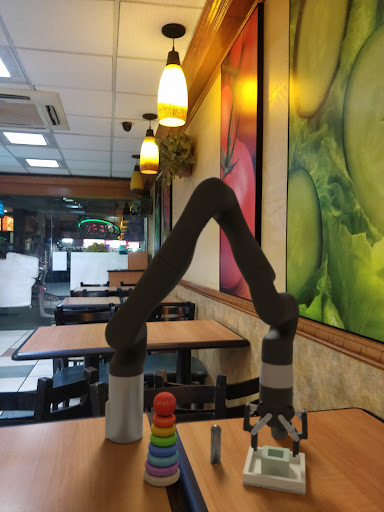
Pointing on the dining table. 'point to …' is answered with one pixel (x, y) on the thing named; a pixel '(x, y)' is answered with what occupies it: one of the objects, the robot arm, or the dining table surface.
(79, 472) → the dining table surface
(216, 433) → the post
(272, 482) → the tray
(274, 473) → the pale green hollow block
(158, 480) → the stacking toy
